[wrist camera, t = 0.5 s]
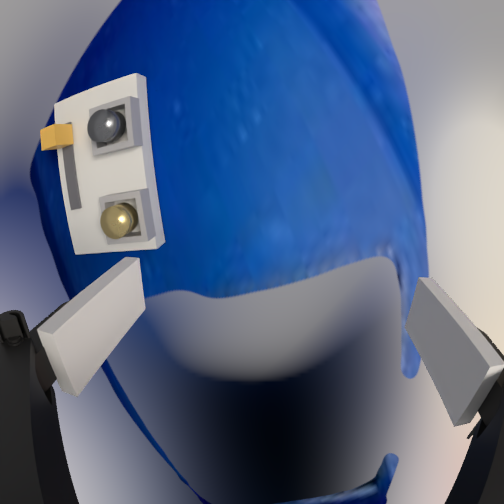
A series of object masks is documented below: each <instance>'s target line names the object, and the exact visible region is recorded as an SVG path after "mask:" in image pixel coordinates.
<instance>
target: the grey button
mask: <svg viewBox="0 0 504 504" xmlns="http://www.w3.org/2000/svg"><path fill="white" fill-rule="evenodd" d="M125 129H126V120H125V117H124V116H123V114H121V113H120V112H117V111H111V110H105V109H101V110H98V111H96V112H94V113H93V114H92V116H91V117H90V119H89V121H88V125H87V131H88V135H89V137H90V138H91V139H92V140H93V141H95V142H114V141H117V140H118V139H120V138H121V137H122V135H123V134H124V132H125Z"/></svg>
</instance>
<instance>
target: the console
mask: <svg viewBox="0 0 504 504" xmlns="http://www.w3.org/2000/svg"><path fill="white" fill-rule="evenodd" d="M54 108H55V124H72V130H73V142H74V144H72V145H69V146H66V147H63V148H61V149H57V153H58V162H59V170H60V178H61V185H62V191H63V198H64V203H65V209H66V214H67V219H68V224H69V229H70V234H71V238H72V243H73V247H74V251H75V255H76V254H90V253H104V252H118V251H132V250H147V249H158V248H159V247H160V246H161V245H162V244H164V243H165V237H164V232H163V226H162V220H161V213H160V207H159V200H158V194H157V186H156V179H155V171H154V163H153V155H152V146H151V136H150V126H149V115H148V102H147V88H146V77H144V76H142V75H140V74H138V73H134V74H131V75H128V76H125V77H122V78H119V79H116V80H113V81H110V82H107V83H104V84H102V85H99V86H96V87H94V88H91V89H89V90H86V91H84V92H81V93H79V94H76V95H74V96H72V97H69V98H67V99H65V100H62V101H60V102H58V103H56V104H54ZM101 109H105V110H111V111H117V112H120V113H121V114H123V116H124V117H125V120H126V129H125V132H124V134H123V135H122V137H121V138H120V139H118V140H117V141H114V142H95V141H93V140H92V139H91V138H90V137H89V135H88V131H87V125H88V121H89V119H90V117H91V116H92V114H93V113H94V112H96V111H98V110H101ZM123 202H125V203H129V204H131V205H132V206H133V207H134V208H135V209H136V211H137V214H138V224H137V226H136V228H135V229H134V230H133V231H132V232H130V233H128V234H126V235H125V236H123V237H121V238H119V239H111V238H109V237H108V236H106V235H105V233H104V232H103V230H102V228H101V224H100V218H101V215H102V213H103V211H104V210H105V209H107V208H109V207H111V206H114V205H117V204H119V203H123Z"/></svg>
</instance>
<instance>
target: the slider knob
mask: <svg viewBox="0 0 504 504" xmlns="http://www.w3.org/2000/svg"><path fill="white" fill-rule="evenodd" d="M40 133H41V147H42V151H43V150H53V149H61V148H63V147H66V146H69V145H72V144H74V142H73V130H72V124H53V125H50V126H48V127H46V128H44V129H42V130H40Z"/></svg>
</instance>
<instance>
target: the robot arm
mask: <svg viewBox="0 0 504 504" xmlns="http://www.w3.org/2000/svg"><path fill="white" fill-rule="evenodd" d="M144 310H145V301H144V294H143V286H142V278H141V269H140V260H139V258H133V257H125V258H124V259H122V260H121V261H120V262H118V263H117V264H116V265H114V266H113V267H112V268H110V269H109V270H108V271H107V272H105V273H104V274H103V275H102V276H100V277H99V278H98V279H96V280H95V281H94V282H93V283H91V284H90V285H89V286H88V287H86V288H85V289H84V290H83V291H81V292H80V293H79V294H78V295H77V296H75V297H74V298H73V299H72V300H70V301H68V302H65V303H63V304H62V305H60V306H59V307H58V308H57V309H56V310H55V311H54V312H52V313H51V314H50V315H49V316H48V317H46V318H45V319H44V320H43V321H41V322H40V323H39V324H38V325H37V326H36V327H34V328H33V329H32V330H31V331H30V332H29V329H28V326H27V323H26V320H25V317H24V314H23V313H22V312H21V311H18V310H11V311H7V312H4V313H2V314H0V504H79V502H78V499H77V496H76V493H75V490H74V486H73V483H72V479H71V475H70V472H69V468H68V464H67V460H66V455H65V451H64V446H63V441H62V436H61V432H60V425H59V420H58V413H57V406H56V398H55V392H54V389H53V387H52V384H53V383H54V382H55V380H56V379H57V381H58V383H59V386H60V388H61V390H62V391H63V392H66V393H69V394H71V395H74V396H76V397H78V395H79V394H80V393H81V391H82V390H83V388H84V387H85V386H86V385H87V383H88V382H89V380H90V379H91V378H92V377H93V375H94V374H95V373H96V371H97V370H98V369H99V367H100V366H101V365H102V363H103V362H104V361H105V360H106V358H107V357H108V356H109V354H110V353H111V352H112V350H113V349H114V348H115V347H116V345H117V344H118V343H119V341H120V340H121V339H122V338H123V336H124V335H125V334H126V332H127V331H128V330H129V328H130V327H131V326H132V325H133V324H134V322H135V321H136V320H137V319H138V317H139V316H140V315H141V314H142V312H143V311H144ZM405 329H406V331H407V332H408V334H409V336H410V338H411V340H412V341H413V343H414V345H415V347H416V349H417V351H418V353H419V355H420V356H421V358H422V360H423V362H424V364H425V366H426V368H427V370H428V372H429V374H430V376H431V378H432V380H433V382H434V384H435V386H436V388H437V390H438V392H439V394H440V396H441V399H442V400H443V403H444V405H445V407H446V409H447V412H448V414H449V416H450V418H451V420H452V423H453V425H454V426H459V425H463V424H467V423H470V422H471V420H472V419H473V418H474V416H475V414H476V413H477V412H479V414H480V416H481V419H480V420H479V422H478V423H477V424H476V426H475V427H474V428H473V430H472V431H471V432H470V434H469V435H468V437H467V439H469V438H470V437H471V436H472V435H473V437H472V440H471V443H470V446H469V449H468V451H467V454H466V457H465V460H464V462H463V464H462V467H461V470H460V472H459V474H458V476H457V479H456V481H455V483H454V486H453V488H452V490H451V492H450V494H449V496H448V498H447V500H446V502H445V504H504V355H503V354H502V353H501V352H500V350H499V349H497V347H496V345H495V344H494V343H492V341H491V339H490V338H489V337H488V336H487V335H486V334H485V333H484V332H483V331H481V330H480V329H478V328H477V327H476V326H475V325H474V324H473V323H472V322H471V320H470V319H469V318H468V317H467V316H466V315H465V313H464V312H463V311H462V310H461V309H460V308H459V307H458V306H457V304H456V303H455V302H454V301H453V300H452V299H451V298H450V297H449V296H448V294H446V292H444V290H443V289H442V288H441V287H440V286H439V285H438V284H437V283H436V282H435V281H434V280H433V279H432V278H423V277H419V278H418V282H417V286H416V290H415V294H414V297H413V301H412V305H411V308H410V312H409V315H408V318H407V322H406V325H405Z"/></svg>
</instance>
